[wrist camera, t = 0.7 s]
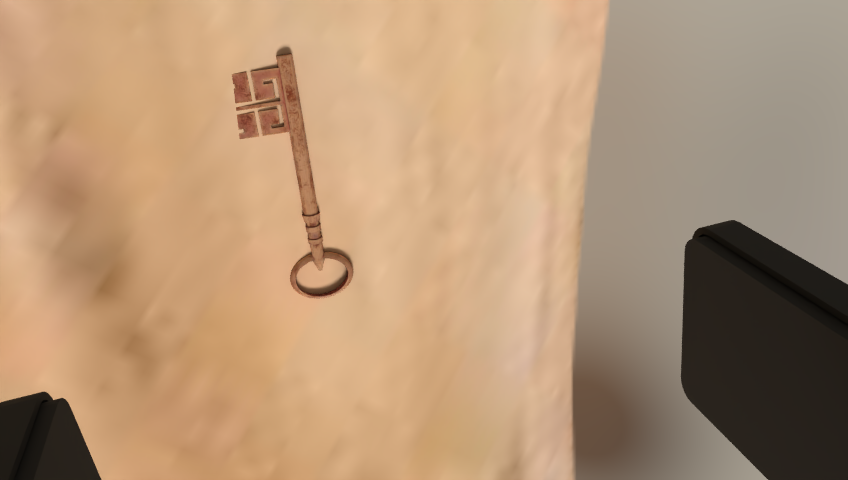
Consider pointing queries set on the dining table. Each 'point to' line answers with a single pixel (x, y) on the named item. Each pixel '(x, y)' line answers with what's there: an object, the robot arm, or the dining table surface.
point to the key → (299, 146)
